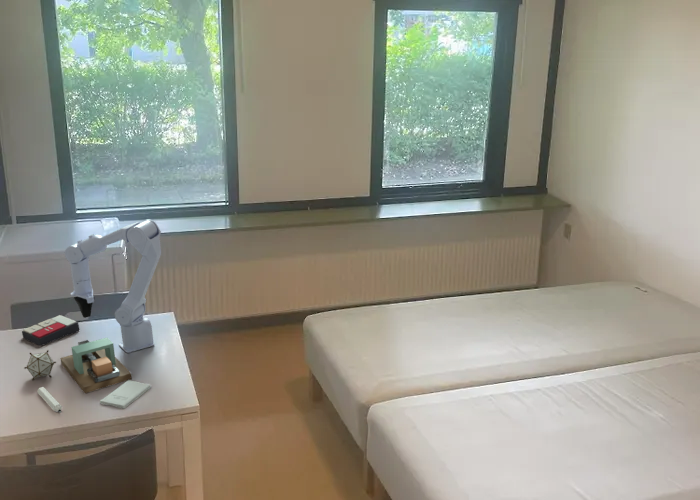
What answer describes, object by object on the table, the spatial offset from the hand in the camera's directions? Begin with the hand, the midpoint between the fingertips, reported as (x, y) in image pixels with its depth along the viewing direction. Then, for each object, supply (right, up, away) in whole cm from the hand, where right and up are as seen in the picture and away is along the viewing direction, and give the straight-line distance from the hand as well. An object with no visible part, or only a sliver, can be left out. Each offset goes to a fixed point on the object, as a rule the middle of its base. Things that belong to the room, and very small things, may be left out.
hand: (86, 316), depth 226 cm
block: (+14, -15, -23) cm, 31 cm away
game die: (-6, -17, -20) cm, 27 cm away
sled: (+10, -13, -18) cm, 25 cm away
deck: (+10, -15, -17) cm, 25 cm away
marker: (+4, -22, -35) cm, 41 cm away
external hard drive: (+23, -20, -31) cm, 44 cm away
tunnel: (+10, -13, -18) cm, 24 cm away
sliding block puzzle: (-16, -8, +9) cm, 20 cm away
